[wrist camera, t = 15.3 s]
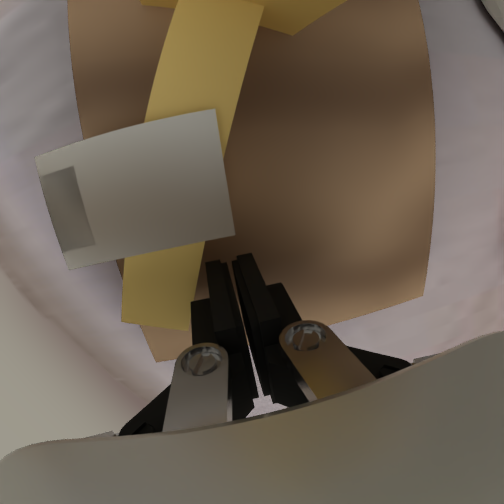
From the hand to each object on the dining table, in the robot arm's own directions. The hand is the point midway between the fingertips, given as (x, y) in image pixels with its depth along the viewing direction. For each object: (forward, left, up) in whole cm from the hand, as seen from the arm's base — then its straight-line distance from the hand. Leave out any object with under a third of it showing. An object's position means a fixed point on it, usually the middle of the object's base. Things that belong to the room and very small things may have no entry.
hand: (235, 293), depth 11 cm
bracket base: (-7, +3, -3) cm, 8 cm away
